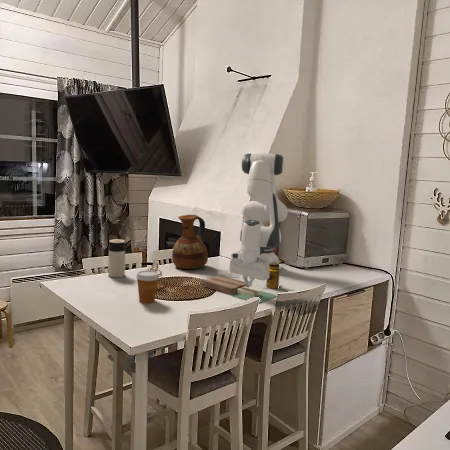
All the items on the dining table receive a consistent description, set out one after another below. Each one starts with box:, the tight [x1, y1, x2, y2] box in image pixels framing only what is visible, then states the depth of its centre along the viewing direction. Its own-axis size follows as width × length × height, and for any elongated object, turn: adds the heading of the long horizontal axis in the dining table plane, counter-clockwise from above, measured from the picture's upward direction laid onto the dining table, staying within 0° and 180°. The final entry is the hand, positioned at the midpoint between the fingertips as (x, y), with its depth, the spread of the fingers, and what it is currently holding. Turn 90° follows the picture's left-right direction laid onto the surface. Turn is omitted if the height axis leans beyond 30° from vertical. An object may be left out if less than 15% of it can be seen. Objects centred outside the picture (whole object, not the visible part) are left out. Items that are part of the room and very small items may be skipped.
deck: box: [200, 275, 250, 296], centre depth 201 cm, size 14×18×3 cm
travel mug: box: [107, 238, 126, 278], centre depth 211 cm, size 8×8×18 cm
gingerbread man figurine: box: [146, 262, 165, 288], centre depth 193 cm, size 9×4×12 cm, turn 138°
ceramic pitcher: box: [171, 214, 209, 270], centre depth 236 cm, size 20×20×30 cm
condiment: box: [263, 263, 283, 291], centre depth 206 cm, size 7×8×12 cm
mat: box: [232, 290, 277, 304], centre depth 191 cm, size 16×14×1 cm
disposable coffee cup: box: [135, 270, 160, 304], centre depth 175 cm, size 10×10×12 cm
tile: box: [236, 286, 262, 298], centre depth 192 cm, size 6×9×2 cm, turn 51°
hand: (248, 285), depth 193 cm, fingers closed
